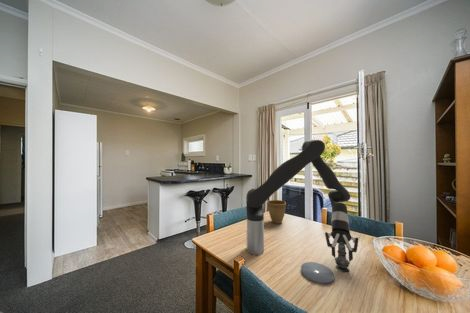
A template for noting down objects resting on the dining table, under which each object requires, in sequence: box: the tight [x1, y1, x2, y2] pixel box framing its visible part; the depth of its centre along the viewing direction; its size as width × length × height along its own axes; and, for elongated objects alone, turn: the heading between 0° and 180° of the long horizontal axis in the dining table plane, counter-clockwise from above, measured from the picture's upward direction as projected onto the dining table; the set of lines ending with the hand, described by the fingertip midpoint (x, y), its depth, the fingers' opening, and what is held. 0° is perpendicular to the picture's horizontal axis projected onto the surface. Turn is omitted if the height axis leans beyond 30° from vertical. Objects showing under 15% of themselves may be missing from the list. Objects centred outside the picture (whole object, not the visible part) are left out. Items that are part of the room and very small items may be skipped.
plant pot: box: [266, 199, 287, 224], centre depth 138 cm, size 15×15×16 cm
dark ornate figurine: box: [334, 242, 351, 273], centre depth 78 cm, size 6×6×12 cm
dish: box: [300, 261, 335, 285], centre depth 75 cm, size 13×13×1 cm
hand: (342, 258), depth 76 cm, fingers open, 5 cm apart
